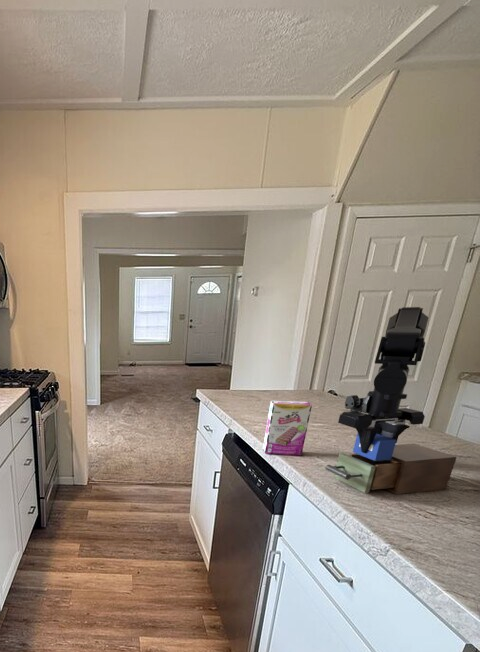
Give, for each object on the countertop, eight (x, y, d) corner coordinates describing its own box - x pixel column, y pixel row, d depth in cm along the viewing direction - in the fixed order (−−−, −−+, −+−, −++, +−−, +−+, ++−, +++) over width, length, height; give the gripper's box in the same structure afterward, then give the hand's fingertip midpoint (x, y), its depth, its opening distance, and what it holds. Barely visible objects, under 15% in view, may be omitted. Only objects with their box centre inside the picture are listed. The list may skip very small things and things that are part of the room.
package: (352, 452, 103) (357, 433, 101) (368, 450, 103) (372, 432, 101) (374, 461, 96) (380, 441, 94) (391, 459, 97) (396, 439, 95)
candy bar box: (265, 454, 128) (272, 403, 121) (262, 449, 132) (269, 400, 126) (302, 456, 125) (312, 404, 119) (298, 451, 130) (308, 400, 124)
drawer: (347, 494, 96) (353, 468, 94) (317, 478, 106) (323, 454, 103) (412, 488, 99) (420, 462, 97) (377, 473, 109) (384, 449, 106)
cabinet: (395, 494, 98) (405, 461, 95) (359, 477, 109) (366, 447, 106) (445, 489, 101) (457, 456, 97) (405, 472, 111) (413, 443, 108)
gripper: (393, 381, 102) (378, 440, 108) (328, 384, 99) (316, 445, 105) (435, 388, 92) (415, 453, 98) (364, 392, 89) (348, 458, 95)
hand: (372, 451), depth 99 cm, fingers closed on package, 4 cm apart
